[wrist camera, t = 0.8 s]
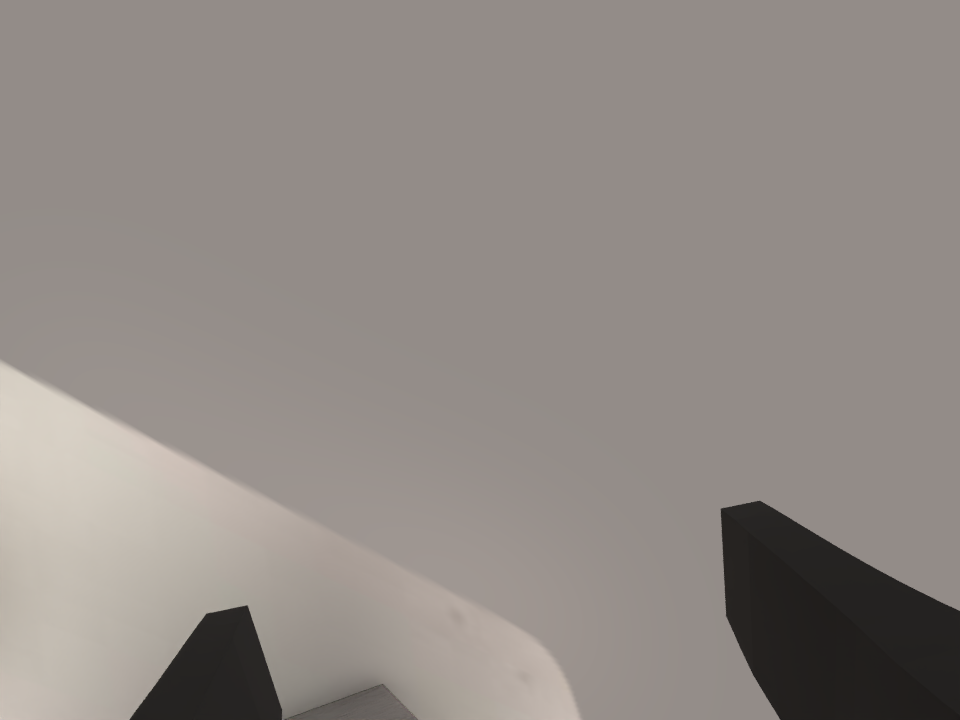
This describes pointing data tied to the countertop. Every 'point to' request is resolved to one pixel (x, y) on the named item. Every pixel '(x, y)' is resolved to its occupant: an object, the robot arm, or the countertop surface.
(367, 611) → the countertop surface
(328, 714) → the box
